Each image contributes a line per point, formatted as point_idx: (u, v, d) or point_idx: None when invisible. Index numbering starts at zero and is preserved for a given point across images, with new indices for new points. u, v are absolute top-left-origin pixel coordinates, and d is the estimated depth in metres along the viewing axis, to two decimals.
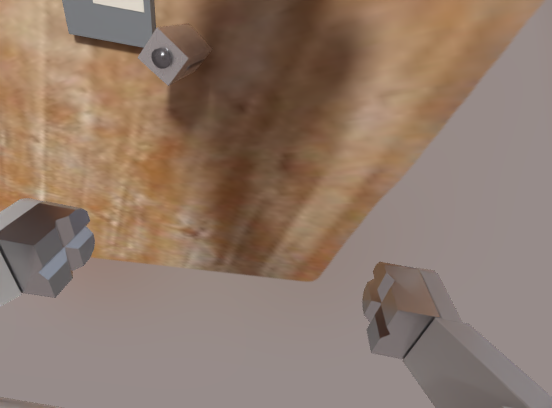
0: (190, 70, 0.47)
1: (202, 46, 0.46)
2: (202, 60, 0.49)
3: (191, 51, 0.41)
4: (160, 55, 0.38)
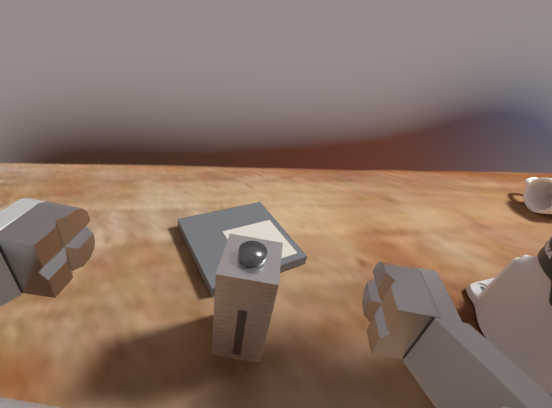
0: (225, 330, 0.27)
1: None
2: (240, 351, 0.29)
3: None
4: (257, 249, 0.25)
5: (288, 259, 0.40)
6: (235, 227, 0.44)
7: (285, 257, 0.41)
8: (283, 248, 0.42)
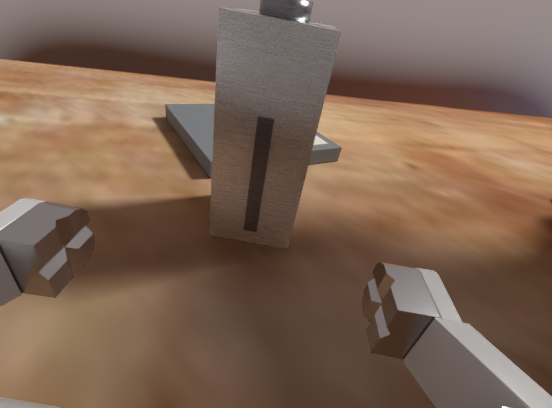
0: (233, 173, 0.16)
1: None
2: (257, 222, 0.17)
3: None
4: None
5: (317, 147, 0.29)
6: None
7: (313, 145, 0.29)
8: None
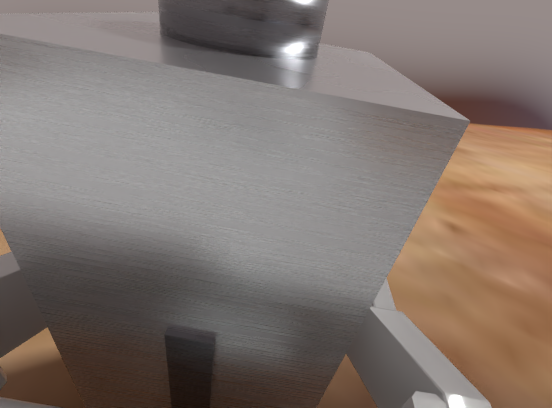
0: None
1: None
2: None
3: None
4: None
5: None
6: None
7: None
8: None
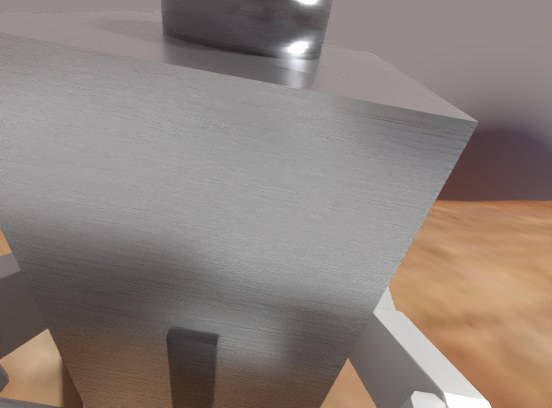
0: None
1: None
2: None
3: None
4: None
5: None
6: None
7: None
8: None
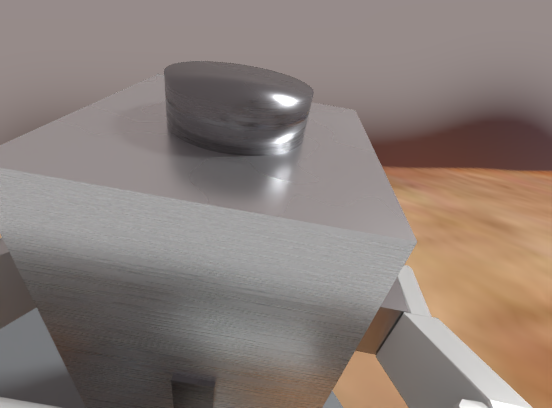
0: None
1: None
2: None
3: None
4: (264, 79, 0.05)
5: None
6: None
7: None
8: None
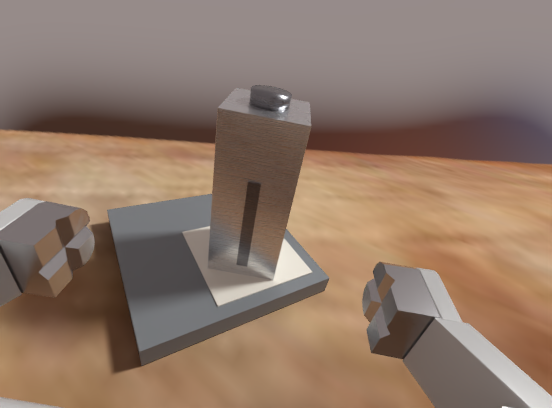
0: (228, 222, 0.19)
1: None
2: (247, 259, 0.21)
3: None
4: (277, 91, 0.17)
5: (298, 284, 0.22)
6: (207, 225, 0.26)
7: (292, 279, 0.23)
8: (287, 263, 0.24)
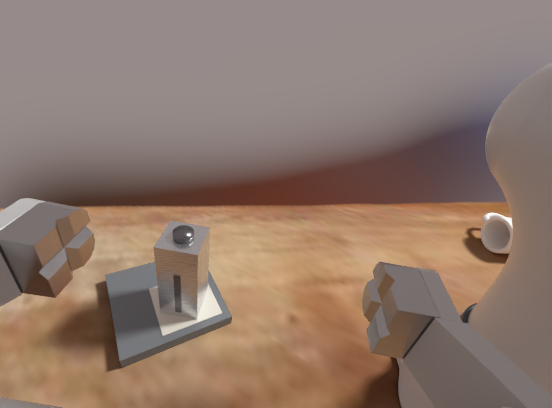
0: (167, 292, 0.37)
1: (199, 297, 0.38)
2: (180, 309, 0.38)
3: (199, 268, 0.35)
4: (186, 231, 0.35)
5: (211, 321, 0.40)
6: None
7: (208, 318, 0.40)
8: (208, 307, 0.41)
